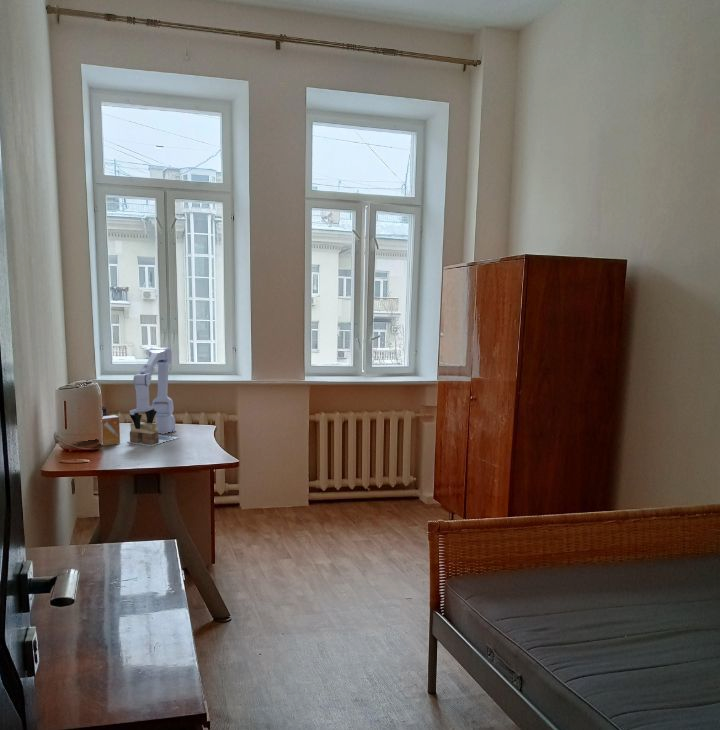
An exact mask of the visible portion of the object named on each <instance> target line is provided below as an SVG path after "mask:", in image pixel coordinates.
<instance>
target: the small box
mask: <svg viewBox="0 0 720 730" xmlns="http://www.w3.org/2000/svg"><path fill="white" fill-rule="evenodd" d="M101 422H102V426H103V446H102V447H105V446H113V445H119V444H121V435H120V434H121V431H120V427H121V426H120V416H118V415H115V414H113V415H106V416H103V418H102V420H101Z"/></svg>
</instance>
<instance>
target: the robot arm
mask: <svg viewBox="0 0 720 730" xmlns="http://www.w3.org/2000/svg"><path fill="white" fill-rule="evenodd" d="M172 354H173V353H172V350H171V348H170V347H153V346H152V347H150V348H149V350H148V360H147V362H146V363H144V364H143V365H142V367H141V368H140V370H139V371H138V373H136V374H134V376H133V380H132V382H133V386H134V390H135V398H136V408H134V409H131V410H129V417H130V418H131V420H132V423H133V422H134V425H135V428H136V429H140V422H141V419H142V413H145V415H146V416H145V417H146V423H154V419H155V424H158V433H161V434H160V435H166V434H169V433H168V432H170V433H173V432H176V430H177V429H176V418H175V415H174V410H175V409H174V401H173V399H172V398H171V397H169V396H168V389H169V365H170V364H171V363H172V356H173V355H172ZM156 365H157V367H158V369H157V370H158V371H157V396H156V397H155V398H154V399H153V400H152V404H151V405H150V385H151V383H152V381H151V380H152V376H153V375H154V373H155V367H156ZM172 431H173V432H172ZM165 433H166V434H165Z"/></svg>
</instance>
